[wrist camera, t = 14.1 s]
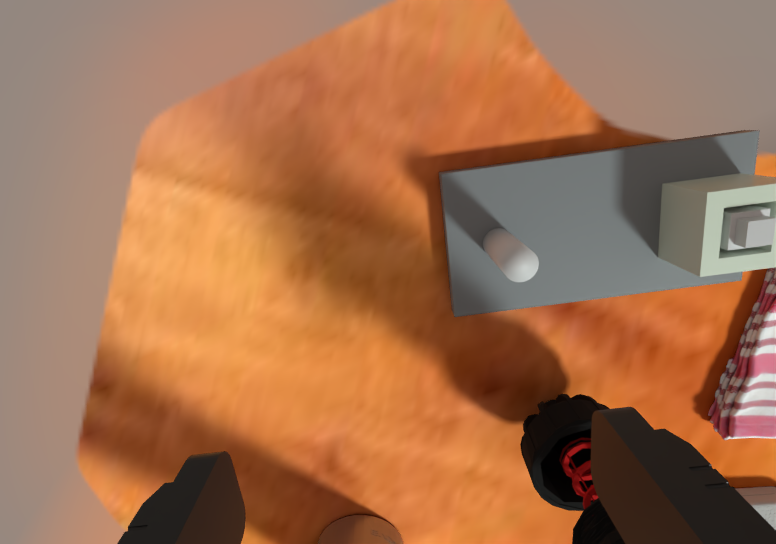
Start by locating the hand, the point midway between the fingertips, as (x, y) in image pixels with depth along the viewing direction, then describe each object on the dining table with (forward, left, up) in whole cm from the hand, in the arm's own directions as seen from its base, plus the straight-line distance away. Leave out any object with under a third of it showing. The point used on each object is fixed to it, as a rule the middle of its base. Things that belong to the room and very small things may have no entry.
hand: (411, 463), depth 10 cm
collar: (+17, -18, -26) cm, 36 cm away
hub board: (+11, -13, -28) cm, 32 cm away
